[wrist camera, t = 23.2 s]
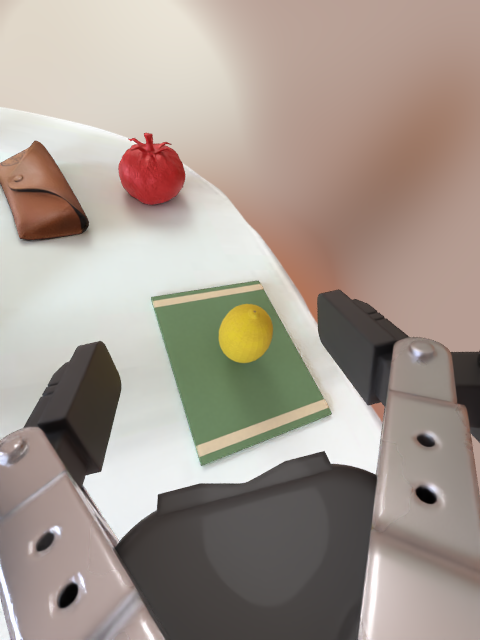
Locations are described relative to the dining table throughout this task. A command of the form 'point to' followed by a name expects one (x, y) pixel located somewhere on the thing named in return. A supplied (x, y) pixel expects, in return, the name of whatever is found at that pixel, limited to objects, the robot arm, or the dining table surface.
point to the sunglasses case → (40, 196)
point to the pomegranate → (151, 171)
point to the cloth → (234, 373)
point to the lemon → (245, 333)
